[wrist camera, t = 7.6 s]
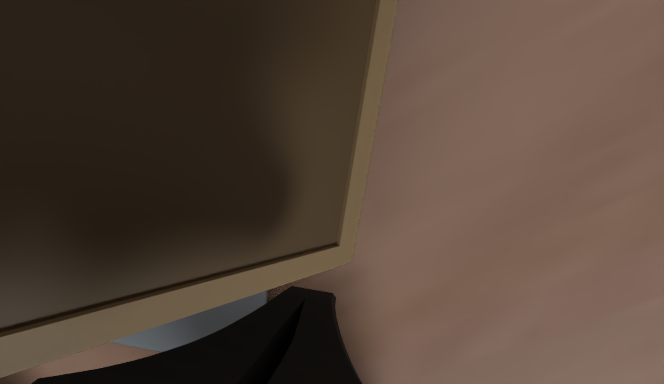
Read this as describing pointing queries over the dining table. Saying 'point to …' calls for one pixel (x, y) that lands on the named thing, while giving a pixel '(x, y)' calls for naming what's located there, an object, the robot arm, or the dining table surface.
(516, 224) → the dining table surface
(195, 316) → the felt mat
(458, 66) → the dining table surface
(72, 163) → the photo frame
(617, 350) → the dining table surface
